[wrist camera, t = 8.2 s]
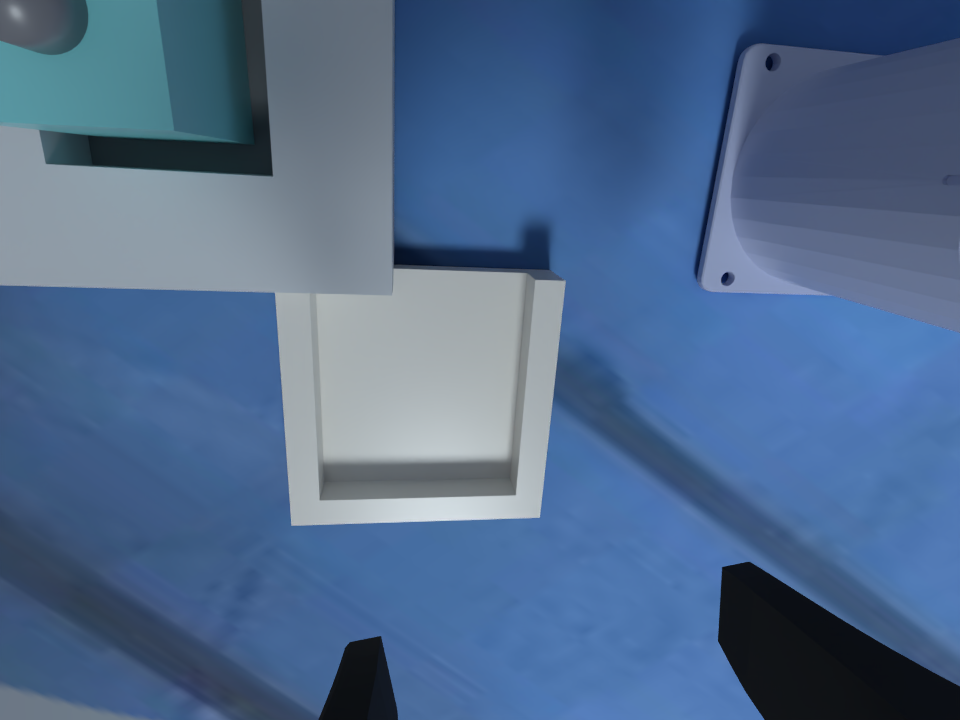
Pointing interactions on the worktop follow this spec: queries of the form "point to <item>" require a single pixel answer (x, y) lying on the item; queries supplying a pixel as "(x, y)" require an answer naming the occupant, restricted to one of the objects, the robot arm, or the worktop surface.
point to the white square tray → (420, 396)
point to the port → (228, 177)
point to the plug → (126, 69)
